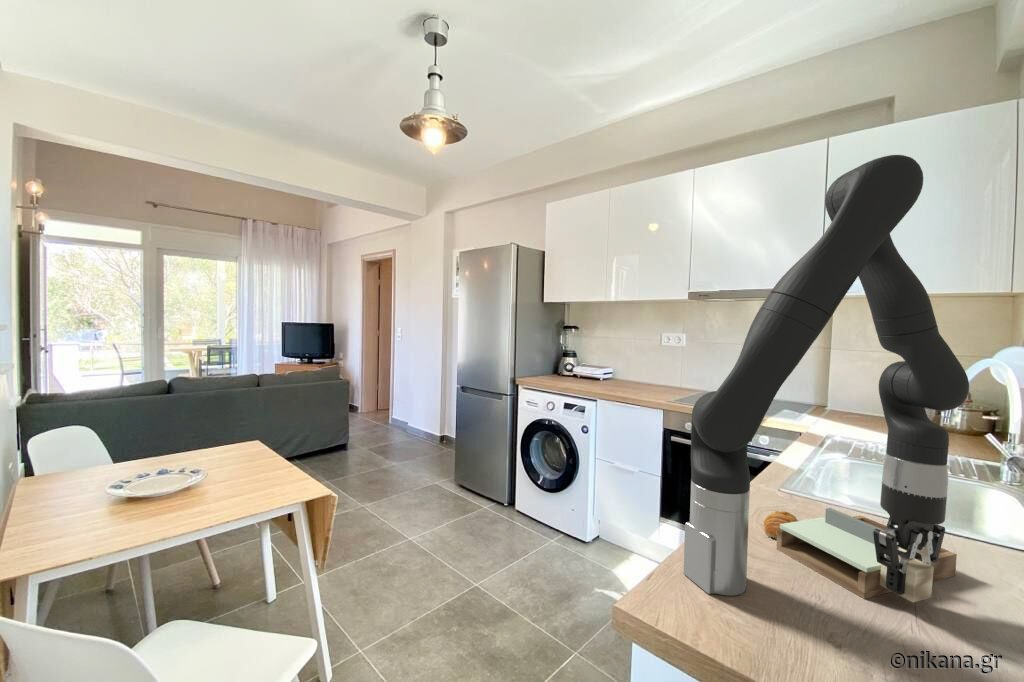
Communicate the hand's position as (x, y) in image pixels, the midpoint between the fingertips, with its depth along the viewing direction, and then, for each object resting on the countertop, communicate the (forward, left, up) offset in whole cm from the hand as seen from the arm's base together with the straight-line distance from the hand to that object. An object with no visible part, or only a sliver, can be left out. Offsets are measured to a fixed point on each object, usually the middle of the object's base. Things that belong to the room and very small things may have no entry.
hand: (905, 588), depth 67 cm
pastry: (+3, +24, -3) cm, 24 cm away
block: (0, 0, 0) cm, 0 cm away
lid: (+2, +11, +2) cm, 11 cm away
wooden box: (+7, +11, -3) cm, 13 cm away
